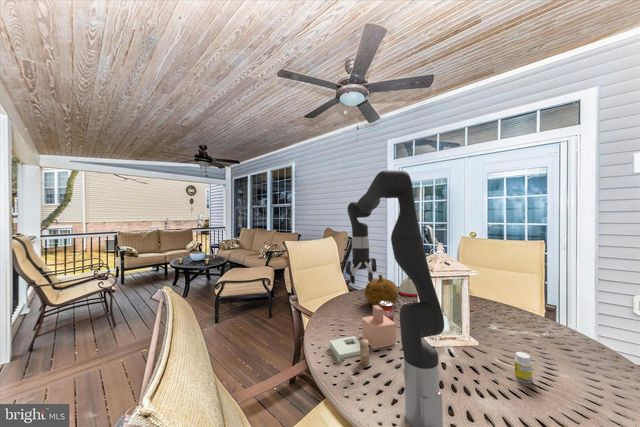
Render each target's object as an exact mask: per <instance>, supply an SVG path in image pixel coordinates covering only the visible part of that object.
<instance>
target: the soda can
mask: <svg viewBox="0 0 640 427" xmlns="http://www.w3.org/2000/svg"><path fill="white" fill-rule="evenodd" d="M379 307H381V308H382V309H383V315H384V316H386V317H387V318H389V319H390V320H391V321H393V322H394V323H395V317H394V316H395V314H394V313H395V312H394V310H395V309H394V308H395V307H394V305H393V303H392V302H389V301H381V302H380V303H379Z"/></svg>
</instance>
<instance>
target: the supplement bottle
mask: <svg viewBox="0 0 640 427" xmlns="http://www.w3.org/2000/svg"><path fill="white" fill-rule="evenodd" d="M514 377H515V379H517V380H518V381H519V382H522V383H525V384H531V383H532V382H533V363H532V362H531V356H530V355H529V354H528V353H525V352H522V351H517V352H515V358H514Z"/></svg>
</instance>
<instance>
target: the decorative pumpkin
mask: <svg viewBox="0 0 640 427" xmlns="http://www.w3.org/2000/svg"><path fill="white" fill-rule="evenodd" d="M377 277H378V279H377V278H376V279H375V278H373V280H372V282H369V281H368V283H367V284H366V286H365V289H364V296H365V298H366V301H367V302H368V304H370V305H371V306H372V307H373V306H375V305H378V306H379V303H380V302H381V301H389V302H392V303H393V306H394V305H395V304H396V302H397V300H398V298H399V289H398V286H397V285H396V283H395V282H394V281H392V280H391V279H386V278H384V277H383V274H378V276H377Z"/></svg>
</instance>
